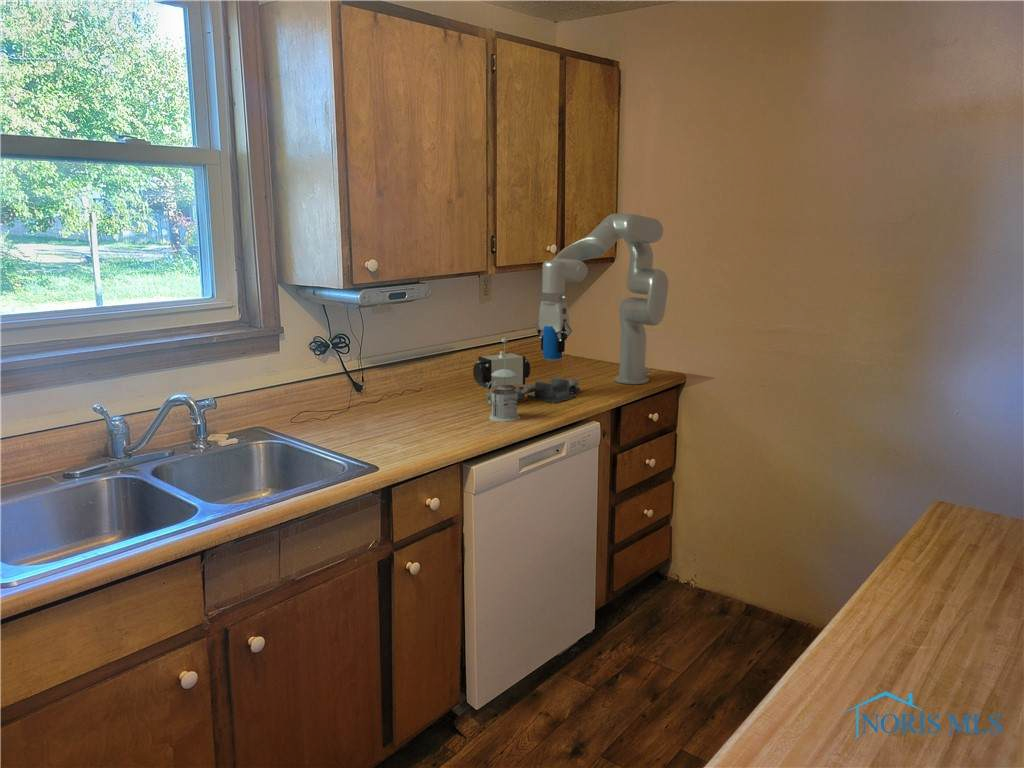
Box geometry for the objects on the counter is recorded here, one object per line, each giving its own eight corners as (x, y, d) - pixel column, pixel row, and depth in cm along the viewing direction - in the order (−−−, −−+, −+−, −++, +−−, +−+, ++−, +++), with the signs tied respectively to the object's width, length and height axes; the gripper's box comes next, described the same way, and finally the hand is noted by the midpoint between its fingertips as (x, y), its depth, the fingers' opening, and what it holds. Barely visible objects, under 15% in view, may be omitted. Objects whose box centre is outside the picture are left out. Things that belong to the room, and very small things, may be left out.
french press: (526, 417, 236) (527, 338, 230) (499, 424, 228) (499, 342, 222) (504, 411, 243) (504, 334, 237) (477, 418, 235) (477, 338, 229)
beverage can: (543, 357, 262) (543, 323, 259) (562, 358, 261) (562, 323, 259) (542, 361, 256) (542, 325, 253) (561, 361, 255) (562, 326, 252)
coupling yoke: (555, 387, 276) (555, 371, 275) (588, 394, 267) (588, 377, 265) (510, 399, 259) (510, 381, 258) (543, 406, 249) (543, 388, 248)
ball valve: (517, 397, 261) (518, 346, 257) (530, 403, 254) (531, 350, 250) (471, 404, 252) (470, 351, 248) (483, 409, 245) (482, 355, 241)
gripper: (580, 299, 251) (579, 352, 255) (541, 295, 262) (540, 346, 266) (566, 301, 245) (565, 355, 249) (526, 297, 257) (526, 349, 261)
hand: (552, 350), depth 258 cm, fingers closed on beverage can, 6 cm apart
